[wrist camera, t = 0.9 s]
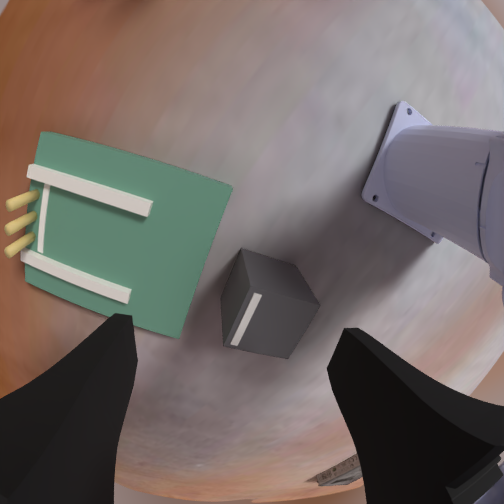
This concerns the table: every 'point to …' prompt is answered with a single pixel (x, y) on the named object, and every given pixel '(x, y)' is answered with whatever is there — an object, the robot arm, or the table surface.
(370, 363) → the robot arm
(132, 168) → the header board
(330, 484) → the box
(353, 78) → the table surface
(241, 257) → the plug
